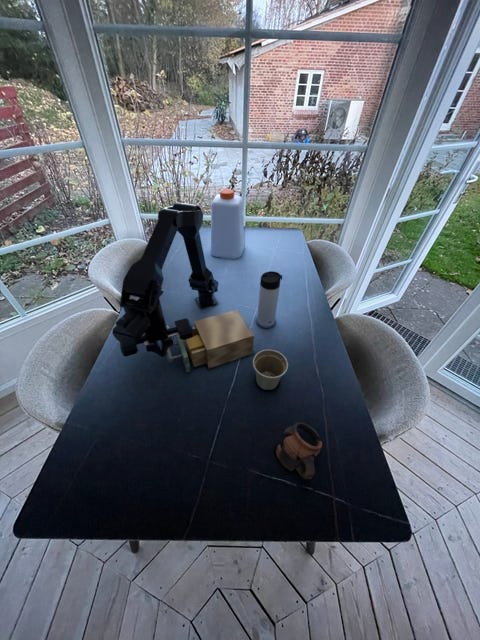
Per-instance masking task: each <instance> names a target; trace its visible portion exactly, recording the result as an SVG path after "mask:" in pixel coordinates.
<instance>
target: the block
mask: <svg viewBox="0 0 480 640" xmlns="http://www.w3.org/2000/svg"><path fill="white" fill-rule="evenodd" d="M186 345H187V347H186V351H187V352H188V355H189V358H190V360H191V359H192V353H191V352H192V351H196V350H199V349H202V348H205V347H204V344H203V342H202V340H201V337H200V335H196V336H193V337H192V338H189V339H186V344H185V346H186Z"/></svg>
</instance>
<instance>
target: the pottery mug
mask: <svg viewBox="0 0 480 640" xmlns="http://www.w3.org/2000/svg"><path fill="white" fill-rule="evenodd" d="M297 428H298V429H300V430H303V431H304V432H305V433H306V434H308V435H309V436H310V438H311V439H312V440H313V443H314V445H312V444H310V443H308V442H307V441H305V440H304V439H303V438H302V437H301V436H300V434H299V432H298V430H297ZM283 434H284V435H288V434H289V435H288V436H286V437H284V439H283V445H281V444H278V445H277V447H276V449H275V453H276V457H277V459H278V461H279V462H280V464H281V465H282V466H283V468H285V469H287V470H288V471H290V472H293V471H295V470H296V472H297V473H298V474H299V476H300V477H301V478H302V479H303V480H311V479H313V477H314V475H315V474H316V473H315V472H316V468H315V464H314V462H315V457H317V456H318V455H319V454H320V452H321V449H322V447H323V442H322V441H321V440H318V439H319V437H320V435H319V433H318V432H317V431H316V430H315V429H314V427H312V426H311V425H308V424H307V423H304V422H301V421H297V422H295V423H293V425H290V426H289V427H288V428H286V429H284V432H283ZM298 458H299V459H298Z"/></svg>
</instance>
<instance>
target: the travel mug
mask: <svg viewBox="0 0 480 640" xmlns="http://www.w3.org/2000/svg"><path fill="white" fill-rule="evenodd" d="M282 280H283V274H281V273H279V272H277V271H273V270H272V271H265V272H263V273H262V274H261V275H260V282H259V289H258V290H259V291H258V302H257V303H258V304H257V314H256V324H257V325H258V326H259V327H261V328H264V329H270V328H271V327H273V326H274V325H275V320H276V314H277V308H278V301H279V296H280V287H281V281H282Z"/></svg>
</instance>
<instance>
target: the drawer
mask: <svg viewBox="0 0 480 640" xmlns="http://www.w3.org/2000/svg"><path fill="white" fill-rule="evenodd" d="M192 329H193V333H194V336H196V335H199V333H198V330H197V328H196V327H195V326H192ZM174 337H175V341H176V342H174V344H173V345H171V346H170V347H169V349H168V350H167V352H166V355H165V357H166V360H167V362H168V363H171V362H173V361H174V360H177V359H179V358H181V360H182V363H183V366H184V369H185V371H186V373H189V372H191V364H190V360H191V362H192V365H193V367H194V368H196V367H199V366H202V365H205V364H206V365H207V363H208V362H207V353H206V349H205V348H202V349H199V350H196V351H192V352H191V353H192V359H191V358H190V359H189V356H188V355H189V354H188V353H187V352H188V351H187V349H186V348H187V345H186V340H184V342H183V340H182V339H180V337H179V333H178V335H176V336H174ZM184 343H185V344H184ZM174 346H176V347H177V348H178V352H179V354H177V355H172V352H171V349H170V348H172V347H174ZM185 346H186V347H185ZM204 347H205V346H204Z"/></svg>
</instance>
